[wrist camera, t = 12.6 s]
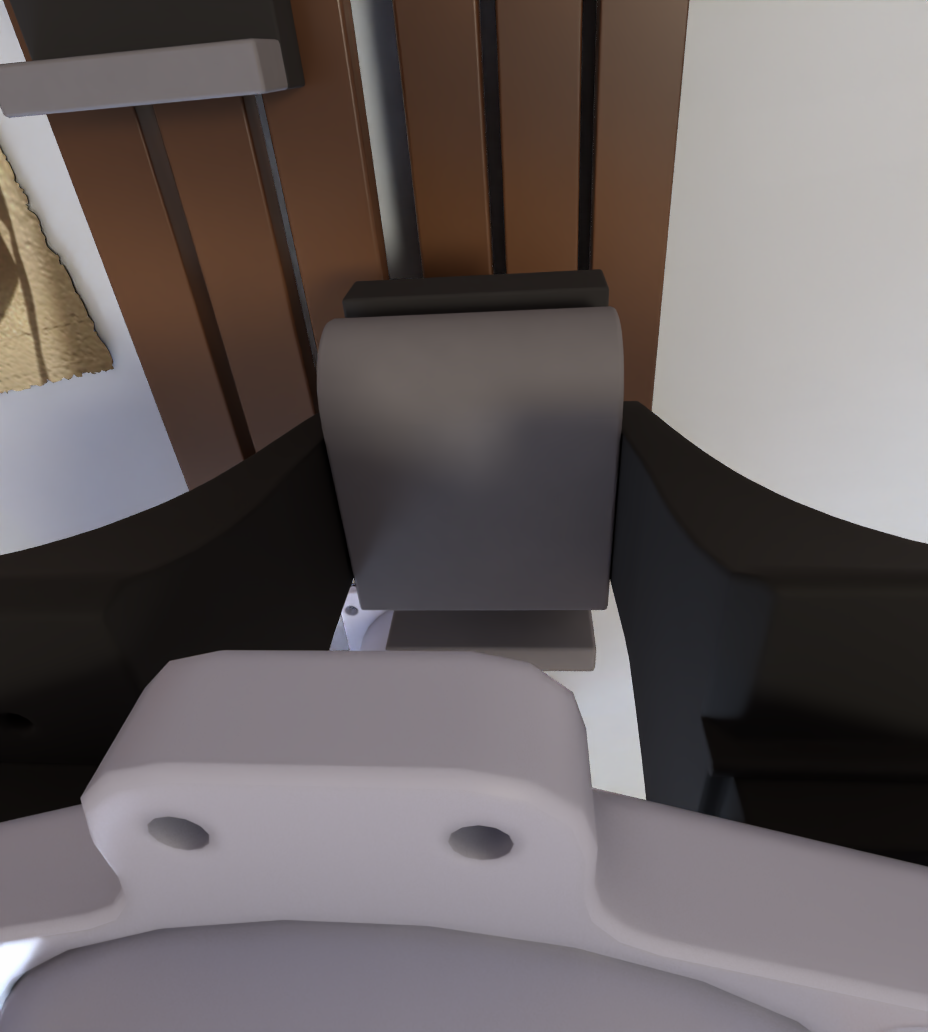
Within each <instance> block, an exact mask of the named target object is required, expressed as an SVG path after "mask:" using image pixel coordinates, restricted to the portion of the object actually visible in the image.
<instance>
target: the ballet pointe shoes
mask: <svg viewBox="0 0 928 1032" xmlns="http://www.w3.org/2000/svg"><path fill="white" fill-rule="evenodd" d="M5 159H6V156H5V155H4V154H2V151H1V149H0V393H3V392H4V391H6V392H7V394H8V390H15V391H21V390H24V389H30V385H38V386H42V385H44V384H45V383H47V380H50V381H51V382H53V383H54V382H57V381H61V380H62V378H63V377H64V378H66V379H68V380H69V379H71V378H72V376H73V374H74V375H75V376H77V377H82V373H84V372H88V373H90V372H91V373H92V374H96V373H94V372H101V370H103V371H107V370H109V369H114V368H113V366H112V364H113V360H112V357H111V355H110V353H109V351H108V349H107V348H106V347H105V344H104V343H102V342H101V340H100V338H99V337H98V336H97V335H96V334H97V332H93V331H94V322H93V321H92V320H90V318H89V317H87V311H86V309H85V307H84V305H83V302H82V301H81V300H80V299H79V295H78V294H77V293H75V289H74V287H73V285H72V282H71V279H70V277H69V275H68V273H67V272H66V270H65V268H64V266H63V265H60V263H59V256H58V254H57V255H55V254H54V253H53V252H52V251H51V250H50V249H49V248H48V247H47V245H46V243H45V238H46V237H45V236H44V235H43V234H42V232H41V226H39V223H40V222H39V220H38V218H37V217H36V215H35V214H34V213H32V212H31V211H29V210H28V209H27V207H28V206H26V205H25V204H28V200H27V197H26V195H25V194H24V193H22V192H23V191H24V190H23V189H21V188H19V183H16V182H15V181H14V177H15V176H14V174H13V171H12V169H11V167H10V165H9V162H7V161H6V160H5Z"/></svg>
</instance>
